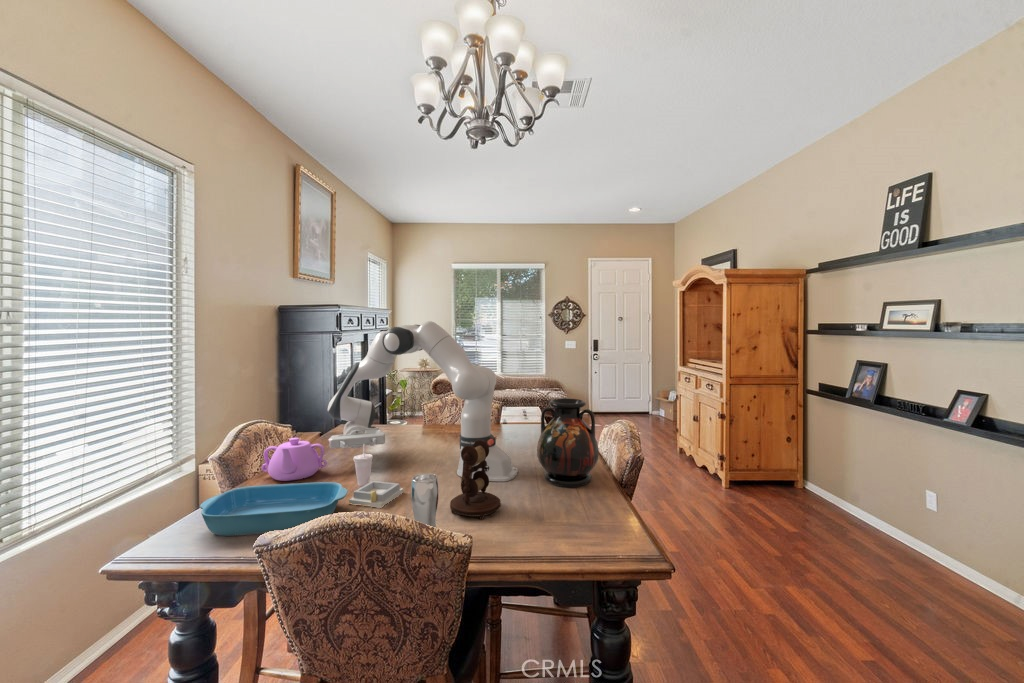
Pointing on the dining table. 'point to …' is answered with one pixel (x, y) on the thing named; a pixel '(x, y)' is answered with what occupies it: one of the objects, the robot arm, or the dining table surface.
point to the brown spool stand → (475, 484)
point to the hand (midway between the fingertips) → (359, 445)
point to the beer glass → (425, 498)
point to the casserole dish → (269, 507)
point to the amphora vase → (567, 444)
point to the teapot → (293, 460)
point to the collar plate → (376, 494)
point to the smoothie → (363, 467)
